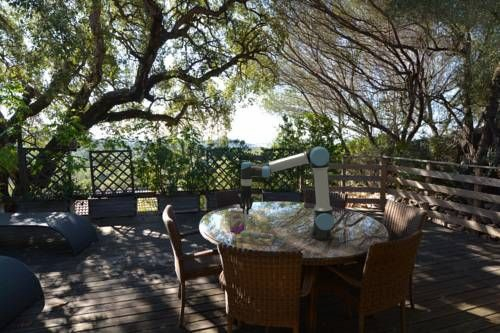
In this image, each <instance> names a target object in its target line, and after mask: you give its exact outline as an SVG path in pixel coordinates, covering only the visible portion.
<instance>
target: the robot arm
mask: <svg viewBox="0 0 500 333" xmlns="http://www.w3.org/2000/svg"><path fill="white" fill-rule="evenodd" d="M305 164H307V165H310V168H311V170H313V179H314V188H315V189H314V190H315V192H314V193H315V205H314V207H313V226H312V228H311V232H310V237H311V238H312V239H313V240H318V241H330V239H331V240H332V239H333V238H334V236H333V232H332V231H333V230H332V228H333V227H334V224H335V219H334V215H333V214H334V212H333V211H334V210H333V207H332V206H331V204H330V203H331V202H330V201H331V200H330V191H329V190H330V189H329V176H328V169H329V168H330V152H329V151H328V149H327V148H325V147H324V146H320V145H316V146H313V147H312V148H309V149H306V150H303V152H301V153H296V154H293V155H290V156H286V157H282V158H279V159H274V160H272V161H268V162H265V163H263V162H262V163H260V164H259V165H253V162H249V161H244V162H242V163H241V168H240V192H239V193H238V194H236V198H238V204H239V208H240V210H243V214H244V219H245V220H246V221H247V220H248V215H249V212H250V210H251V209H252V208H253V203H254V200H255V199H256V195H255V194H253V177H254V178H255V177H256V178H269V177H270V176H271V173H274V172H278V171H281V170H286V169H289V168H293V167H298V166H300V165H305ZM250 198H251V200H250Z"/></svg>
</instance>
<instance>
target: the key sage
mask: <svg viewBox="0 0 500 333" xmlns="http://www.w3.org/2000/svg"><path fill="white" fill-rule="evenodd" d="M251 232H252V231H251V230H246V231H245V230H243V231H242V232H241V236H246V237H249V236H250V235H251Z"/></svg>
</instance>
